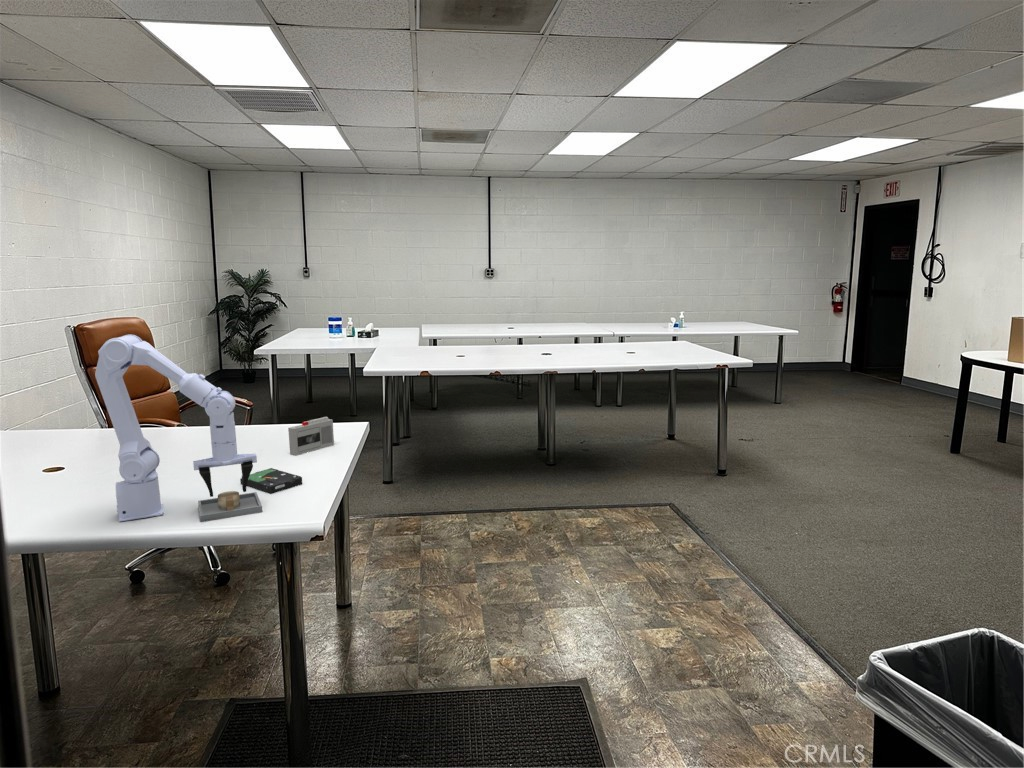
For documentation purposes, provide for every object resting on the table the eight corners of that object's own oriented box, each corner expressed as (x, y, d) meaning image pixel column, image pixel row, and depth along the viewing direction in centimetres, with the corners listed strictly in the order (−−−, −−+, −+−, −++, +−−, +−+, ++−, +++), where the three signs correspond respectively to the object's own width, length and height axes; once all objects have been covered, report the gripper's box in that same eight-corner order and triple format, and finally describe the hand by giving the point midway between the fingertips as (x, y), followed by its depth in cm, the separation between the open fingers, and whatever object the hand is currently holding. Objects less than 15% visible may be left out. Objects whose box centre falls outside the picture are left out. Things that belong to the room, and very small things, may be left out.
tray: (200, 521, 161) (200, 516, 160) (198, 506, 171) (198, 500, 171) (262, 511, 167) (262, 506, 166) (256, 497, 177) (256, 491, 177)
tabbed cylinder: (218, 504, 171) (217, 493, 170) (239, 501, 173) (238, 489, 173) (219, 513, 164) (218, 502, 164) (241, 510, 167) (240, 498, 166)
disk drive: (303, 486, 188) (271, 476, 197) (303, 476, 188) (271, 467, 196) (271, 496, 180) (239, 485, 188) (270, 486, 179) (238, 476, 188)
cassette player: (295, 456, 216) (293, 425, 214) (290, 454, 218) (288, 424, 216) (334, 445, 229) (332, 416, 227) (329, 444, 230) (327, 415, 228)
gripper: (192, 448, 160) (197, 502, 163) (256, 441, 167) (260, 493, 169) (191, 441, 166) (196, 494, 169) (253, 434, 173) (257, 485, 175)
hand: (228, 493), depth 169 cm, fingers open, 7 cm apart
